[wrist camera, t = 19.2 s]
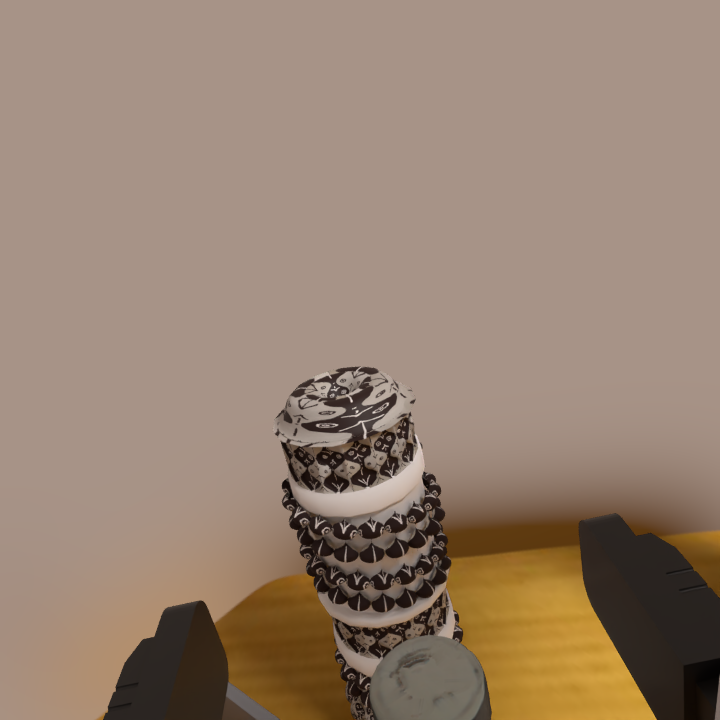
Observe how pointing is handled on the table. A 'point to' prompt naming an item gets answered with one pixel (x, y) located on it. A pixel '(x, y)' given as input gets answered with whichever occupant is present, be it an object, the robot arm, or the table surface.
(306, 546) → the decorative candle
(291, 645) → the table surface
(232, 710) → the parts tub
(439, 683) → the sauce bottle
